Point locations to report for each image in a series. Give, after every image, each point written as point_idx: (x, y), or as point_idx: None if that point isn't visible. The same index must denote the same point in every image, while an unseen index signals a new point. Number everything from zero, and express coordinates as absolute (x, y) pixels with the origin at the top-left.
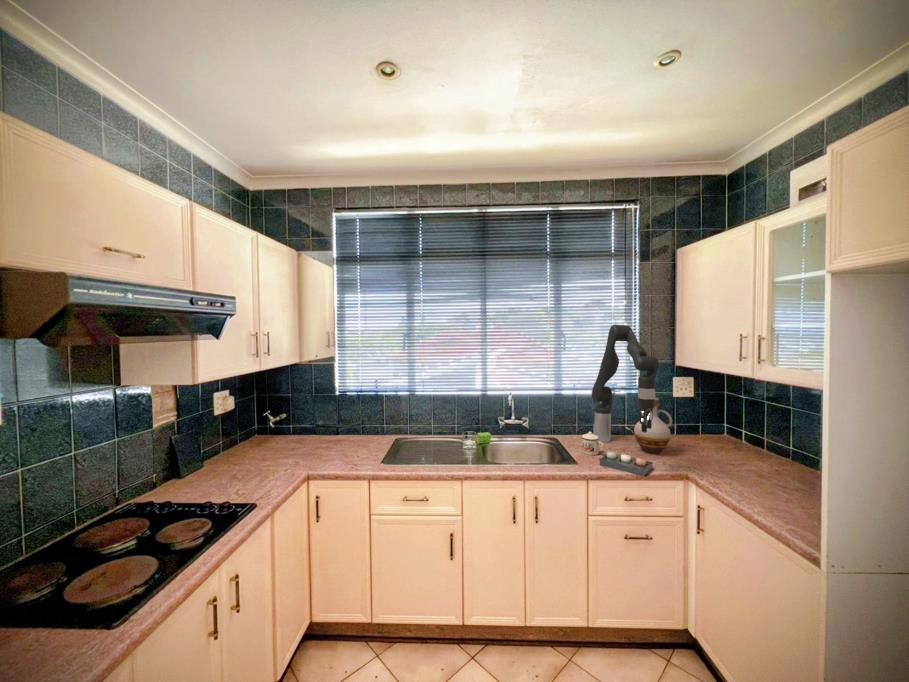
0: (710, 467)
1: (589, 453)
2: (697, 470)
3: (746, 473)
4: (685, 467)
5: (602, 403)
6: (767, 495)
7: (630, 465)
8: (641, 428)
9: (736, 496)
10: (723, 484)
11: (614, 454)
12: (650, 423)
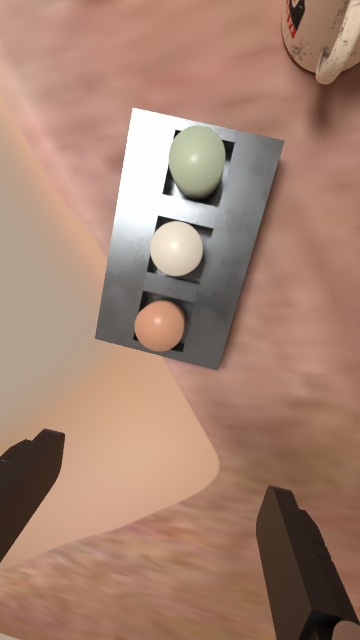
0: (325, 546)
1: (282, 15)
2: None
3: None
4: (286, 471)
5: None
6: (141, 618)
7: (121, 278)
8: (21, 453)
9: (91, 555)
10: (167, 547)
11: (177, 182)
12: (276, 606)
